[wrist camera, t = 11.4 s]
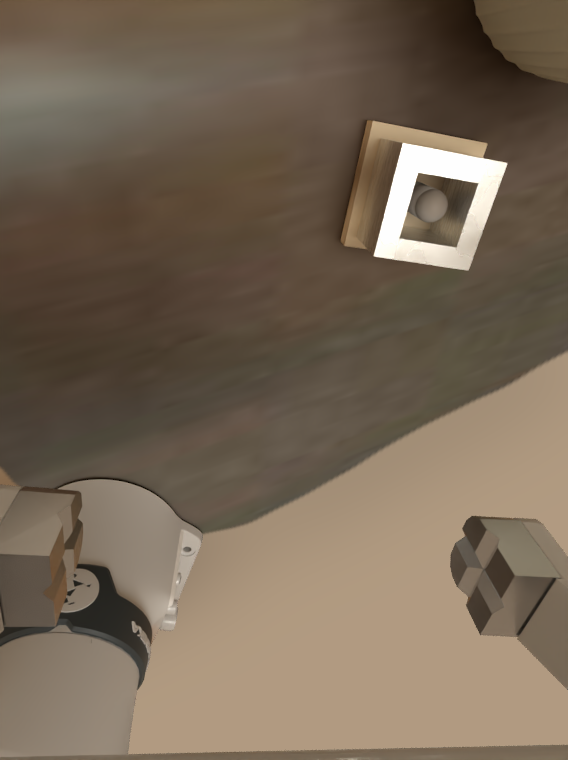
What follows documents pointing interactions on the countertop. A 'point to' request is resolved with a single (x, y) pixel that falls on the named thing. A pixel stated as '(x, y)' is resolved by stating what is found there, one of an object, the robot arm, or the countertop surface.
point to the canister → (529, 34)
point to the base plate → (427, 189)
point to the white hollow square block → (445, 236)
